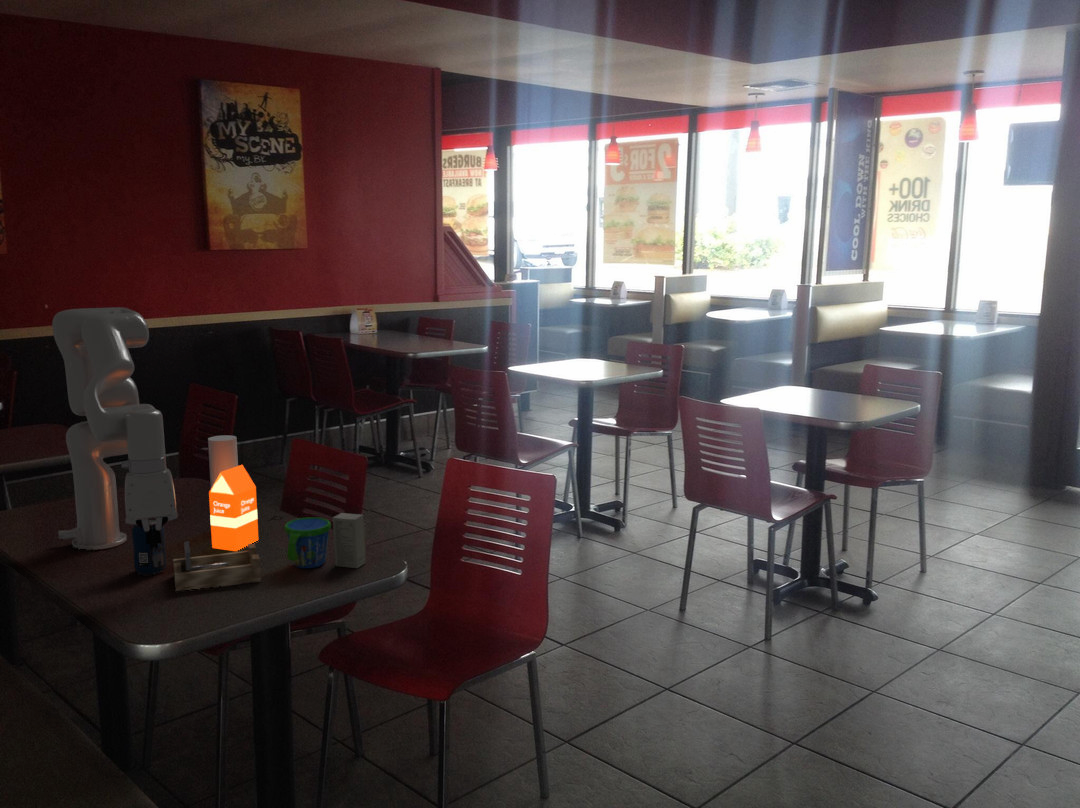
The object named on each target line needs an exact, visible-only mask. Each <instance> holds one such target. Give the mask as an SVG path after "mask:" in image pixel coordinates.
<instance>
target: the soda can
mask: <svg viewBox="0 0 1080 808" xmlns="http://www.w3.org/2000/svg"><path fill="white" fill-rule="evenodd" d="M148 520H149V524H150V526H151V529H153V528H154V525H155V523H156V518H150V519H148ZM160 534H161V543H158V548H155V547H154V548H153V549H150V544H146V531H144V529H142V528H141V527H139V526H138V525H136V524H133V527H132V529H131V538H132V550H133V551H132V552H133V564H134V569H135V571H136V573H137V574H138V573H140V574H153V573H158V572H160V571H162V572H164V570H165V569H166V566H167V565H168V563H167V553H166V537H165V525H164V526H163V527H162V528H161V529H160ZM153 542H154V535H153ZM140 574H139V575H140ZM158 574H159V573H158Z"/></svg>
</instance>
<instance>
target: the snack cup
mask: <svg viewBox="0 0 1080 808" xmlns="http://www.w3.org/2000/svg"><path fill="white" fill-rule="evenodd" d="M331 528H332V523H331V521H330V520H328V519H327V518H324V517H317V516H316V517H314V516H312V517H310V516H307V517H299V518H294V519H291V520H289V521H288V522H287V523H285V525H284V527H283V531H284V532H285V534H286V535H287V539H288V540H287V541H288V545H287V552H286V553H287V554H286V557H287V559H288V560H289V561H291V562H292V563H293V566H295V567H297V568H299V569H314V568H315V569H316V568H318V567H321V566H322V565H324V563H326V559H327V552H328V543H329V538H330V536H329V533H330V530H331Z"/></svg>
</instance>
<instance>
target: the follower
mask: <svg viewBox="0 0 1080 808" xmlns="http://www.w3.org/2000/svg"><path fill="white" fill-rule="evenodd" d="M183 545H184V558H185V564H186V572H191V571H199V570H207V569H215V568H223V567H228V562H224V563H216V564H208V565H199V566H191V557H192V555H191V548H190V541H184V542H183Z"/></svg>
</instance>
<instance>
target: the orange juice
mask: <svg viewBox="0 0 1080 808" xmlns="http://www.w3.org/2000/svg"><path fill="white" fill-rule="evenodd" d="M208 497H209V498H208V501H209V513H210V515H209V517H210V518H209V520H210V532H211V533H210V534H211V545H212V546H211V548H212V549H218V550H224V551H229V552H230V551H231V552H239V551H241V550H243V549H245V548H247V547H248V544H252V543H254V542H256V541H258V540H259V524H258V523H259V521H258V519H259V517H258V506H257V505H258V503H257V501H258V500H257V486H256V484H255V483H254V482H253V480H252V478H251V476H250V474H249V473H248V471H247V469H246V468H245V467H244V465H243V464H241V465H239V464H238V466H236V467H233V468H230V469H228V470H225V471H222V472H220V474H219V476H218V478H217V480H216V481H215V483H214V485H213V487H212V488H211V487H210V490H209V491H208ZM258 542H259V541H258ZM256 543H257V542H256ZM254 544H255V543H254ZM246 546H247V547H246ZM244 547H245V548H244ZM242 548H243V549H242ZM240 549H241V550H240ZM238 550H239V551H238Z"/></svg>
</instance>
